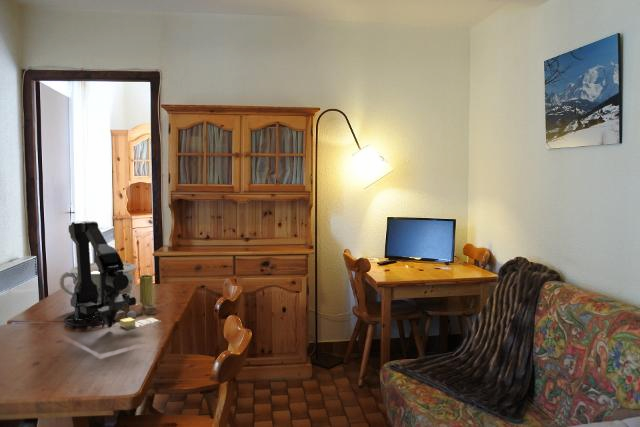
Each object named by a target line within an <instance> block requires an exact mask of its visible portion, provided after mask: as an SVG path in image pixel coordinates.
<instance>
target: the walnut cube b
mask: <svg viewBox="0 0 640 427" xmlns="http://www.w3.org/2000/svg"><path fill="white" fill-rule="evenodd" d="M156 308H157V307H156V306H155V304H154V305H147V306H144V307H143V313H144V315H145V316H146V315H155V314H157V310H156Z"/></svg>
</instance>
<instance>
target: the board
mask: <svg viewBox="0 0 640 427" xmlns="http://www.w3.org/2000/svg"><path fill="white" fill-rule="evenodd" d="M159 322H161V320H160V319H156V318H154V317H148V318H145V319H140V320H135V326H134V327H130V328H126V331H127V330H131V329H136V328H139V327H140V328H141V327H143V326H144V327H145V326H148V325H152V324H156V323H159ZM118 327H121V326H120V324H119V325H118ZM121 328H122V327H121Z"/></svg>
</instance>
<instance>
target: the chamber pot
mask: <svg viewBox="0 0 640 427" xmlns="http://www.w3.org/2000/svg"><path fill="white" fill-rule="evenodd" d="M122 262H123V264H124V266H123V267H124V270H122V271H123V274H124V275H126V276H127V277H128V279H129V283H128V286H127V287H126V288H125V289H123V290H119V293H120V294H125V293H128V294H129V295H130V296H132V293H133V292H134V286H135V276H134V275H133V273H132V272H133V271H135V270H137V269H138V266H137V264H134V263H130V262H125V261H122ZM90 266H91V280H92V281H93V282H94V284H96V285H97V291H98V293H99V294H98V302H97V304H99V303H100V302H99V299H100V291H99V290H98V288H100V272H98V270H99V268H98V266H97V265H96V262H92V263H91V262H90ZM117 266H118V265H117ZM114 267H115V266H114ZM66 278H72V283H73V287H75V286H76V284H77V282H78V270H77V266H75V267H73V268H71V269H70V271H66V272H63V274H62V275H61V276H60V278H59V286H60V289H62V291H64V292H65V293H66V294H68V295H70V296H71V297H72V296H73V294H74V291H71V290H69V289H68V288H66V285H65V279H66Z"/></svg>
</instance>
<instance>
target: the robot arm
mask: <svg viewBox="0 0 640 427" xmlns="http://www.w3.org/2000/svg"><path fill="white" fill-rule="evenodd" d="M68 233H69V234H70V239H71V240H72V241H73V242H74V244H75V252H76V253H75V255H76V267H77V270H78V282H77V284H76V286H75V287H74V286H73V287H74V288H73V292H74V294H73V296H72V295H71V298H70V300H69V301H70V306H71V307H73V308H74V319H75V318H77V319H85V318H90V317H93V316H95V317H96V313H97V312H99V313H100V315H101V317H102V318H103V320H104V322H105V324H106V326H107V328H112V326H113V323H114V321H115V320H114V318H115V316H116V313H117V312H118V311H119V310H120V311H122V309H124V308H125V307H126V305H127V306H128V307H129V306H131V305H136V302H137V298H136V297H135V296H133V295H129V294H128V293H125V294H120V293H119V290H123V289H125V288H126V287H127V286H128V283H129V279H128V277H127V276H126V275H124V274H123V271H122V270H124V267H123V266H124V264H123V262H124V261H123V260H122V258H121V256H120V254H119V252H118V251H117V250H116V249H115V247H112V246H111V245H109V244H108V242H107V241H106V239H105V237H104V235H103V234H102V232H101V230H100V228H99V222H97V221H95V220H93V221H91V220H90V221H89V220H83V221H81V220H80V221H72V222H71V223H70V224H69V225H68ZM90 245H91V246H92V248H93V250H94V252H95V257H94V260H95V262H94V263H96V265H97V266H98V268H99V270H98V272H100V288H98V290H99V291H100V299H99V302H100V303H99V304H97V302H98V294H99V293H98V291H97V285H96V284H94V282H93V281H92V280H91V266H90V263H91V255H90V254H91V253H90ZM117 265H118V266H117ZM114 266H115V267H114ZM90 319H91V318H90Z"/></svg>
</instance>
